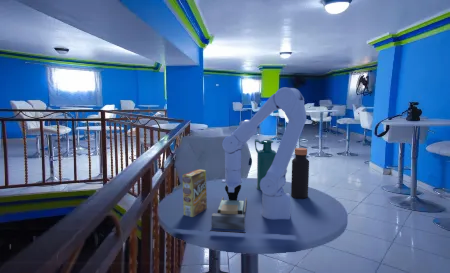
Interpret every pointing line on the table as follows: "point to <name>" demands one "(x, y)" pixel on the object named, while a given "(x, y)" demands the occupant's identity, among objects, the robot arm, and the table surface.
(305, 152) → the bottle
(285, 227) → the table surface
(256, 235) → the table surface
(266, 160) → the pitcher
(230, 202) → the grey flat block
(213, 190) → the table surface
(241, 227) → the press bed
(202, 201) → the candy box
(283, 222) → the table surface
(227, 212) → the tan cube
